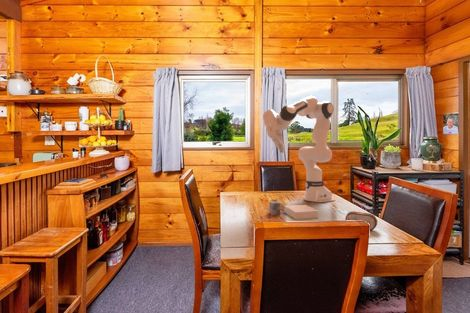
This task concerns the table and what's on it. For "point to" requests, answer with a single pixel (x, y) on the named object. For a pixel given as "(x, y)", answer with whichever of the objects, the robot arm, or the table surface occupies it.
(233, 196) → the table surface
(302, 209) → the riser
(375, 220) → the grey rounded slab
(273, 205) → the block
